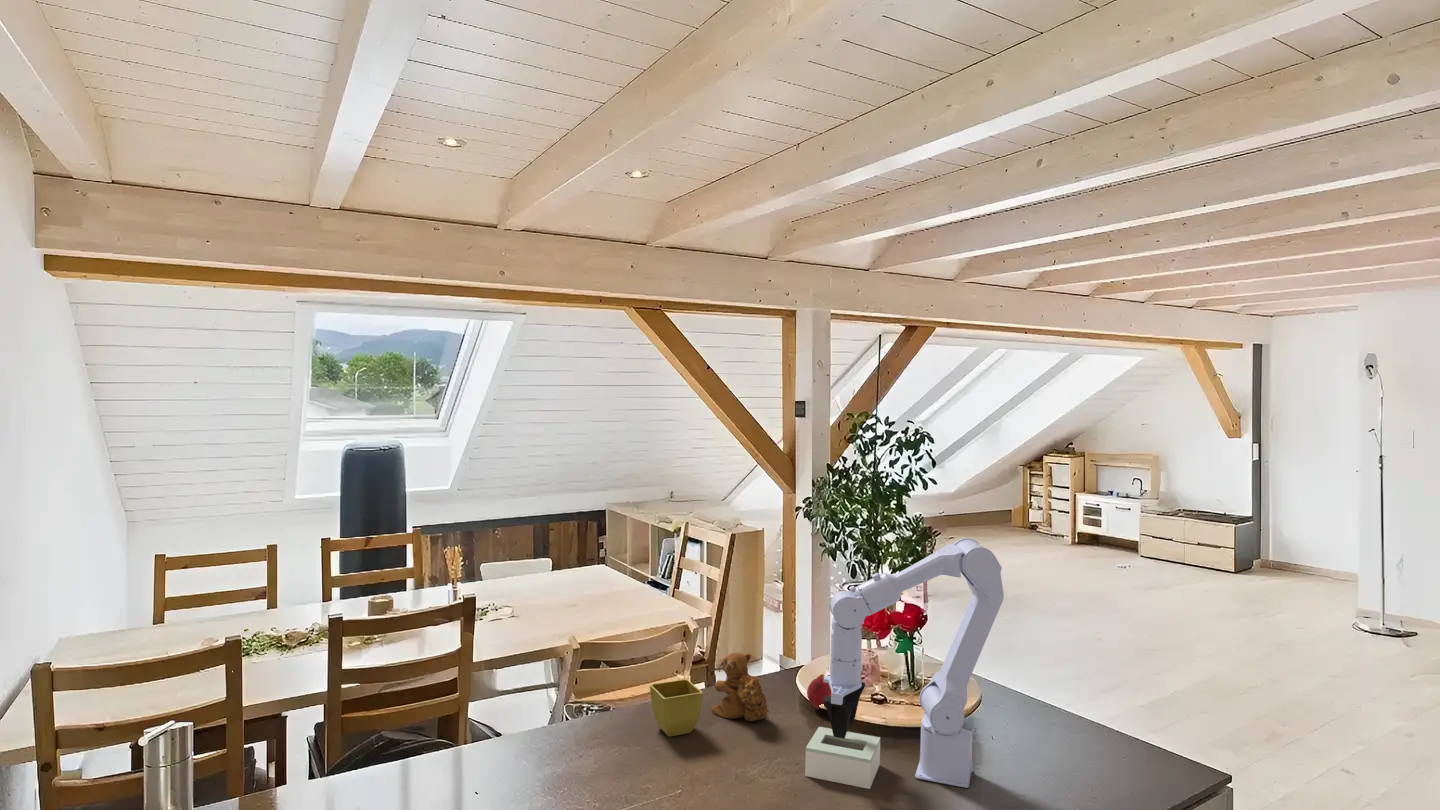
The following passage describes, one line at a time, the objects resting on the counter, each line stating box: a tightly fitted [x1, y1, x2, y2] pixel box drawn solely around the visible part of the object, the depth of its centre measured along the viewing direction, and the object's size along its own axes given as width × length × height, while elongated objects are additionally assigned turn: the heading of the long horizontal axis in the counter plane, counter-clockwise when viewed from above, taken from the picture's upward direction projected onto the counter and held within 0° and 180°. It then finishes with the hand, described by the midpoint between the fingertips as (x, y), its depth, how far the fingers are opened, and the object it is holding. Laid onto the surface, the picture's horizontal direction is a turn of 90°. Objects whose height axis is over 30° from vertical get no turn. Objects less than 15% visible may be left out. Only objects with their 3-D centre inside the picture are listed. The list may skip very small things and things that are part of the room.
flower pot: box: [649, 678, 704, 737], centre depth 167 cm, size 9×9×9 cm
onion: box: [806, 673, 831, 710], centre depth 179 cm, size 6×6×8 cm
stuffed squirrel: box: [711, 652, 770, 723], centre depth 175 cm, size 10×14×13 cm
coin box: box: [804, 726, 881, 790], centre depth 151 cm, size 12×10×5 cm
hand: (844, 728), depth 151 cm, fingers open, 7 cm apart
